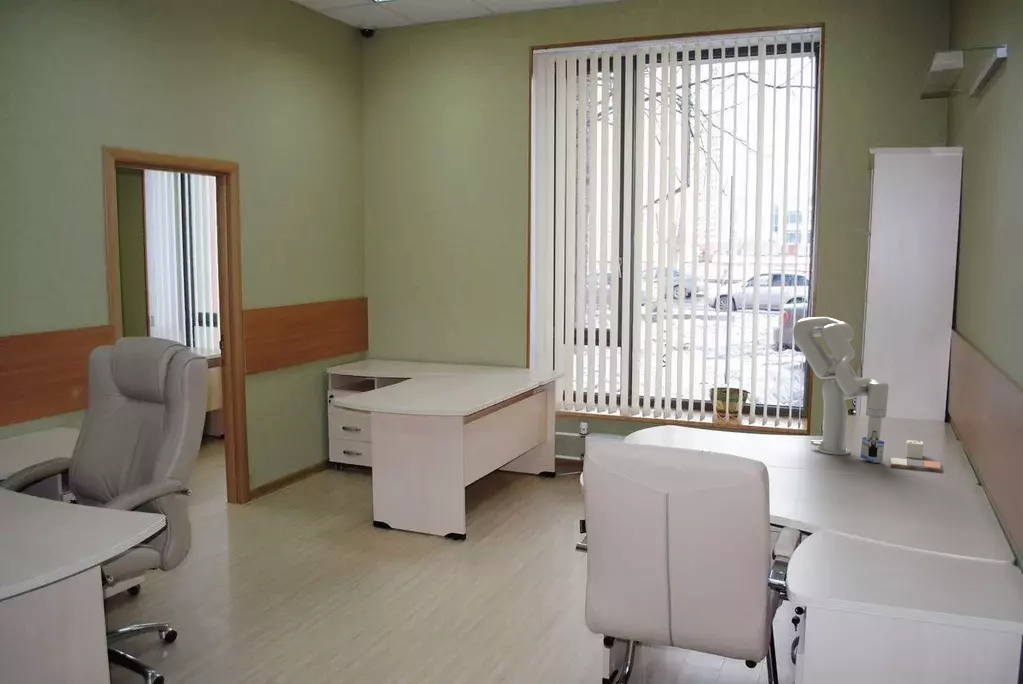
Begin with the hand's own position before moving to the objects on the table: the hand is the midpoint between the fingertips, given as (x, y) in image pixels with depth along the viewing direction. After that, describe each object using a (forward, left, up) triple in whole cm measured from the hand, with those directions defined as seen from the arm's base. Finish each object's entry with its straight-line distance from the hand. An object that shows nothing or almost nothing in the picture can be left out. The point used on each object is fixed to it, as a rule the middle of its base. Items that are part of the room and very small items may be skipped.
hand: (872, 453), depth 348 cm
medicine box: (0, 0, -3) cm, 3 cm away
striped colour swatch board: (+16, -1, -3) cm, 16 cm away
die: (+16, +16, -3) cm, 23 cm away
